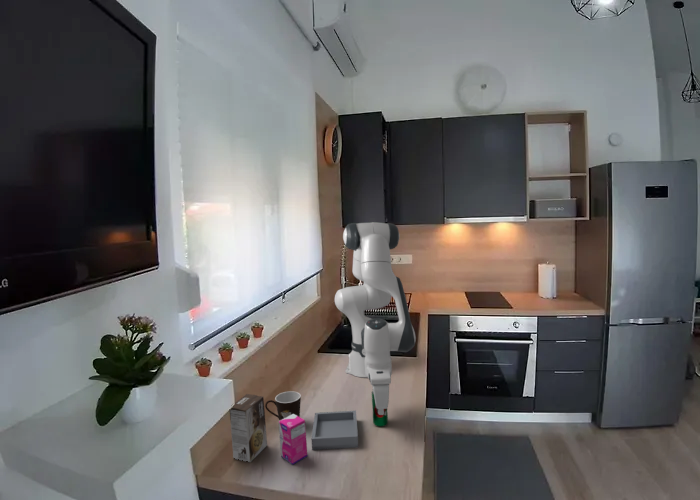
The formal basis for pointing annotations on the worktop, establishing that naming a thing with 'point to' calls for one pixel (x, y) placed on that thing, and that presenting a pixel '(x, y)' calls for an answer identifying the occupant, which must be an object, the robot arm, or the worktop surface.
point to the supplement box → (293, 438)
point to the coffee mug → (286, 404)
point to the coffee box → (248, 427)
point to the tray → (334, 430)
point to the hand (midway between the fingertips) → (379, 408)
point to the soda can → (378, 419)
